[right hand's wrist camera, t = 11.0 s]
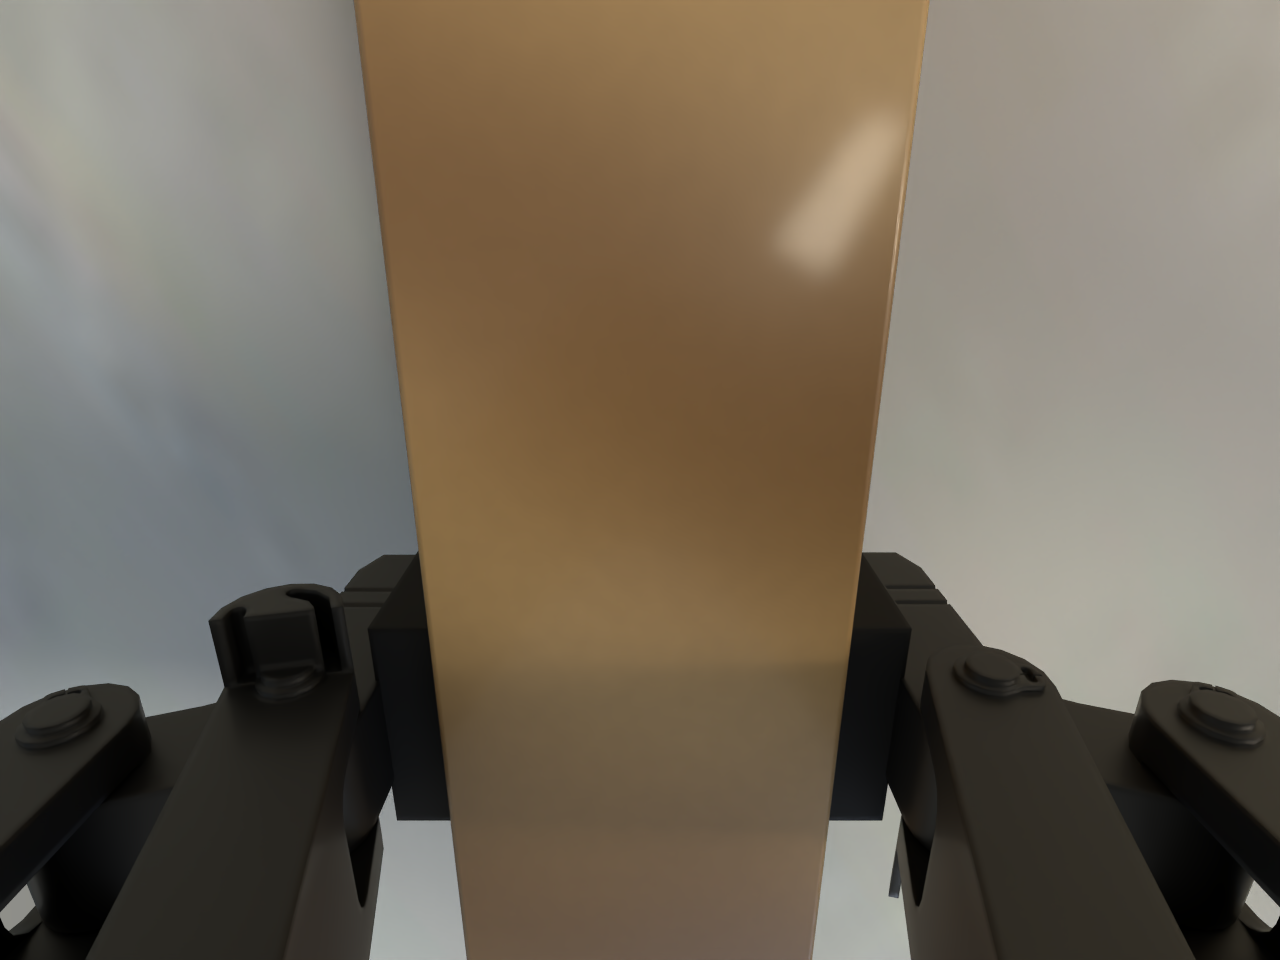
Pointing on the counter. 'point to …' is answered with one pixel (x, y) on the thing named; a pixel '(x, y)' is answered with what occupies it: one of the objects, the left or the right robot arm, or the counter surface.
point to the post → (640, 439)
